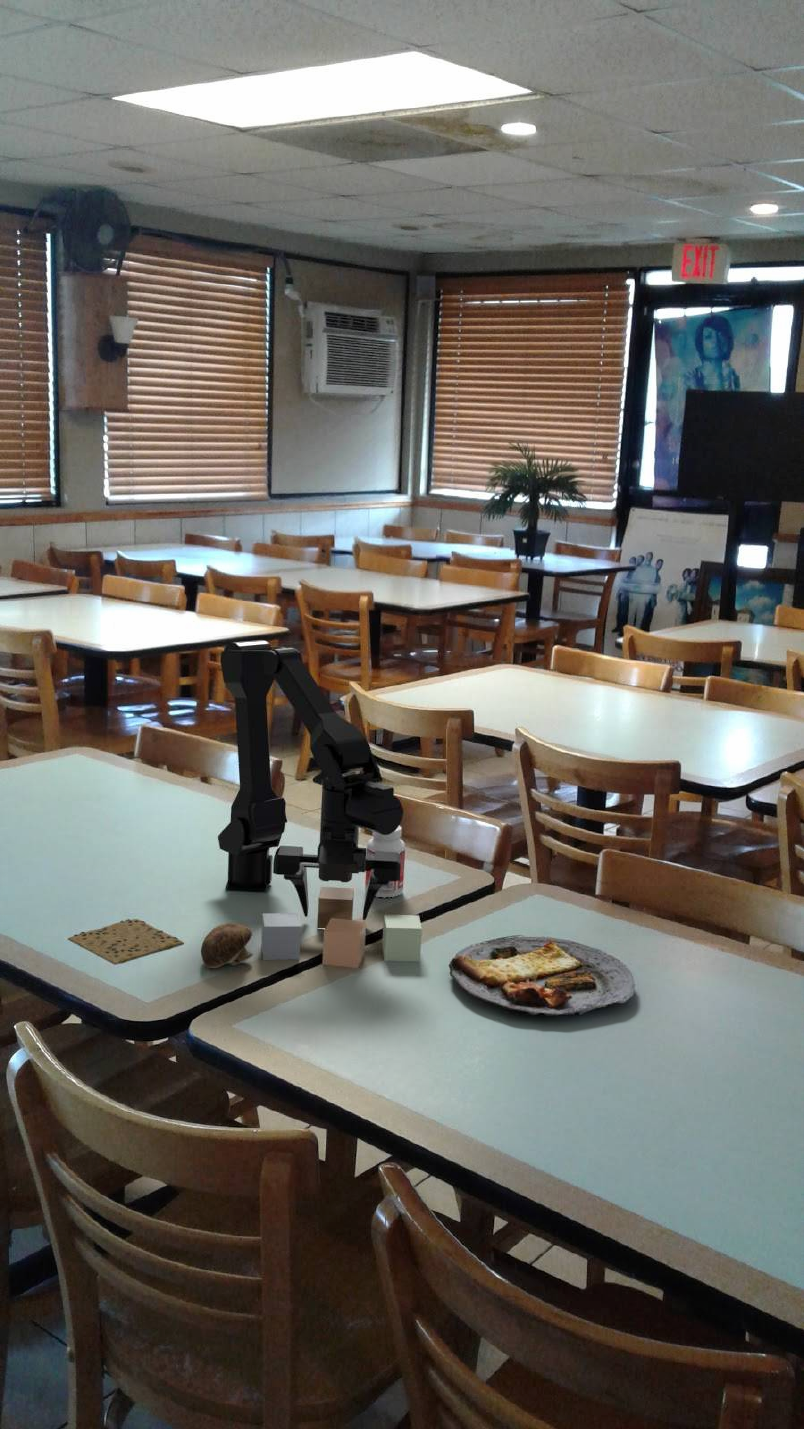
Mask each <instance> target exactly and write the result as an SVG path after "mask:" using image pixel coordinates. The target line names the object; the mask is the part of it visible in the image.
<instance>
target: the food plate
mask: <svg viewBox="0 0 804 1429" xmlns="http://www.w3.org/2000/svg"><path fill="white" fill-rule="evenodd" d="M448 967H449V975H450V977H451V978H452V979H453V980H454V981H455V982H456V984H458V986H459V987H460V988H462V990H463V991H464V992H465V994H468V995H470V996H471V997H473V998H475V999H478V1000H479V1001H483V1002H486V1003H490V1004H492V1005H495V1006H499V1007H501V1008H503V1009H505V1010H507V1011H511V1010H513V1011H514V1012H519V1013H520V1012H521V1013H523V1015H522V1016H525V1015H526V1012H527V1014H528V1015H532V1016H536V1015H537V1014H541V1013H542V1014H544V1015H545V1016H547V1017H553V1016H559V1015H575V1014H576V1013H578V1014H579V1016H581V1015H583V1014H585V1013H588V1012H590V1011H593V1010H594V1009H597V1008H599V1009H600V1008H602V1007H604V1008H606V1006H608V1005H613V1004H614V1003H620V1004H624V1003H626V1002H627V1001H628V1000H630V999H631V998H632V997H633V996H634V994H635V991H636V987H635V986H636V985H635V979H634V978H635V977H634V975H633V973H632V971H631V970H630V969H629V968H628V967H627V964H624V963H623V962H621V960H620V959H618V958H616V957H614V956H612V955H610V954H609V953H607V952H606V951H604V950H602V949H601V948H598V947H594V946H590V945H587V944H584V943H581V942H578V941H574V940H570V939H566V938H559V937H552V936H526V935H525V936H524V935H509V936H507V935H506V936H503V937H497V938H493V939H489V940H485V941H481V942H478V943H475V944H471V945H468V946H466V947H464V948H461V949H460V950H459V951H458V952H457V953H456V954H455V956H454V957H452V959H451V960H450V962H449V963H448Z"/></svg>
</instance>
